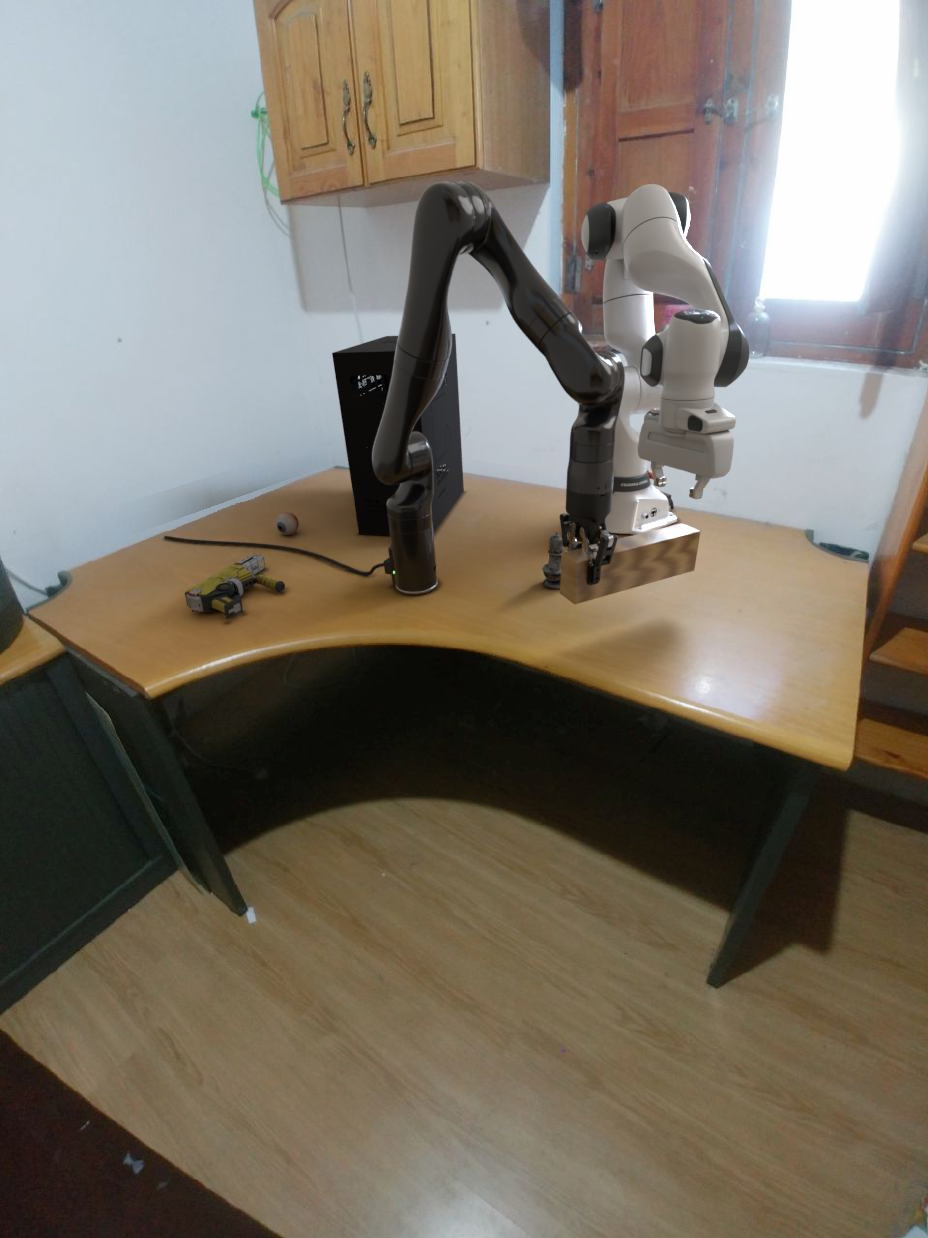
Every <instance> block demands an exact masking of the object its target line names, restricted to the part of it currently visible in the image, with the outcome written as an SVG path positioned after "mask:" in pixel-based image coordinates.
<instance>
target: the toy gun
mask: <svg viewBox="0 0 928 1238" xmlns="http://www.w3.org/2000/svg"><path fill="white" fill-rule="evenodd" d="M262 561H263V565H260V563H261V562H262ZM266 566H267V565H266V559H265V556H264V555H263V554H261V553H259V554H258V553H256V552H254V553H252V554H251V555H248V556H247V557H246V558H243V559H241V560H240V561H238V562H234V563H233V564H231V565H230V566H228V567H226V568H224V569H222V570H221V571H218V572H217V573H215V574H214V575H212V576H210V577H208V578H206V579H205V580H203V581H201V582H199V583H197V584H195V585H194V586H192V587H191V588H189V589H187V590H186V591H185V592H184V597H185V602H186V606H187V607H188V609H189V610H191V612H192V613H195V614H199V613H200V612H201V613H208V612H214V611H219V612H222V613H223V614H224V615H225V619H227V620H229V619H231V618H234V617H235V616H238V615H239V614H241V613H243V612H244V609H243V603H242V598H241V597H242V596H243V595H244V591H245V590H247V589H249V588H252V587H254V586H255V585H256V584H257V585H259V586H262V587H265V588H267V589H271V590H272V591H273V590H274V591H275V592H277V593H282V592H284V591H285V590H286V583H285V582H284V581H282V580H277V579H276V578H272V577H270V576H267V575H265V574H263V573H262V574H258V573H260V572H261V571H262V570H265V569H266ZM256 574H258V575H257V576H255V575H256Z"/></svg>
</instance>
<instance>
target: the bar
mask: <svg viewBox="0 0 928 1238" xmlns="http://www.w3.org/2000/svg"><path fill="white" fill-rule="evenodd" d="M700 536H701V530H699V529H698V528H695V527H692V526H690V525H687V524H686V523H678V524H673V525H668V526H665V527H662V528H660V529H657V530H653V531H649V532H645V533H641V534H637V535H633V534H632V535H629V536H625V537H621V538H617V543H616V546H615V549H614V553H613V556H612V560H611V563H610V564H608V565H604V566H601V574H600V581H599V583H598V584H594V585H589V584H587V570H588V565H589V564H588V558H587V554H586V553H585V552H584V548H580V549H576V550H572V551H568V550H567V551H565V552H564V553H562V556H561V584H560V588H559V594H560V595H562V597H564V598H565V599H566V600H568V601H569V602H570V603H572V604H573V605H578V604H581V603H585V602H589V601H592V600H595V599H599V598H603V597H607V596H609V595H613V594H617V593H620V592H624V591H628V590H631V589H635V588H639V587H641V586H645V585H649V584H652V583H655V582H659V581H662V580H665V579H670V578H672V577H676V576H680V575H683V574H686V573H690V572H694V571H695V569H696V563H697V555H698V549H699V543H700ZM595 546H597V544H594V545H590V547H595ZM596 555H597V552H594V553H593V556H594V559H595V558H596ZM604 558H605V556H604Z"/></svg>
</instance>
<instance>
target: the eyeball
mask: <svg viewBox="0 0 928 1238" xmlns="http://www.w3.org/2000/svg"><path fill="white" fill-rule="evenodd" d="M299 525H300V522H299V519H298V517H297V516H296V515H295V514H294V513H292V512H287V511H286V512H282V513H280V514H279V515H278V516H277V517H276V520H275V527H276V529H277V530H278V531H279V532H280V533H281V534H282V535H285V536H286V535H287V536H289V535H293V534H295V533H296V532H297V531H298V529H299Z"/></svg>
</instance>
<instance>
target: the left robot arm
mask: <svg viewBox="0 0 928 1238" xmlns="http://www.w3.org/2000/svg"><path fill="white" fill-rule="evenodd" d="M414 212H415V213H414V219H413V227H412V235H411V236H412V237H411V238H412V239H411V248H410V249H411V250H410V261H409V270H408V271H409V272H408V280H407V287H406V292H405V298H404V305H403V310H402V317H401V323H400V326H399V331H398V335H397V336H398V340H397V345H396V351H395V356H394V362H393V369H392V375H391V380H390V385H389V390H388V394H387V399H386V404H385V408H384V412H383V415H382V419H381V422H380V425H379V428H378V432H377V435H376V438H375V442H374V445H373V451H372V465H373V469H374V472H375V475H376V476H377V478H378V479H379V480H380V481H381V482H382V483H384V484H386V485H396V484H400V485H399V487H398V489H397V490H396V491H395V493H394V494H393V495H392V496H391V497H390V498H389V499H388V500H387V514H388V523H389V531H390V535H389V538H390V545H389V546H388V549H387V550H388V551H387V552H388V557H387V558H386V559H385V560H383V562H381V563H377V564H375V565H373V566H371V569H370V570H369V571H362V570H359V569H356V568H354V567H352V566H349V565H347V564H344V563H342V562H340V561H337V560H335V559H333V558H330V557H327V556H325V555H322V554H320V553H316V552H312V551H311V550H310V551H309V550H305V549H301V548H296V547H292V546H286V545H279V544H270V543H269V544H268V543H261V542H246V541H245V542H244V541H243V542H241V541H225V540H223V541H222V540H209V539H208V540H205V539H194V538H193V539H192V538H183V537H176V536H170V535H164V536H163V539H166V540H172V541H178V542H183V543H184V542H186V543H195V544H210V545H229V546H245V547H258V548H259V547H261V548H270V549H279V550H286V551H292V552H297V553H301V554H304V555H305V554H306V555H309V556H313V557H316V558H319V559H320V560H321V559H322V560H325V561H327V562H330V563H332V564H334V565H336V566H337V567H341V568H342V569H343V568H344V569H345V570H348V571H350V572H353V573H355V574H357V575H361V576H370V575H372V574H373V573H374V572H375V570H377V569H378V568H384V574H385V575H390V576H391V582H392V587H394V588H395V589H396V590H397V591H398V592H399V593H401V594H403V595H407V596H408V595H409V596H410V595H411V596H415V595H416V596H417V595H424V594H428V593H430V592H432V591H434V590H435V589H437V587H438V585H439V580H438V574H437V573H438V563H437V559H436V549H435V547H436V546H435V532H434V533H433V522H432V510H431V503H432V500H433V496H434V484H433V458H432V452H431V448H430V445H429V443H428V441H427V439H426V438H425V436H424V435H423V434H421V433H420V432H418V431H412V430H413V428H414V425H415V424H416V422H417V420H418V419H419V417H420V416H421V414H422V413H423V411H424V410H425V409H426V407H427V406H428V405H429V403H430V402H431V400H432V399H433V398H434V396H435V395H436V393H437V391H438V390H439V388H440V386H441V384H442V382H443V379H444V376H445V373H446V369H447V365H448V361H449V357H450V353H451V347H452V334H453V332H452V325H451V320H450V315H449V307H448V299H449V292H450V287H451V282H452V278H453V275H454V271H455V267H456V264H457V262H458V261H457V260H458V258H459V256H461V255H466V254H468V255H469V256H470V257H471V258H473V259H474V260H475V261H476V262H478V264H480V265H481V266H482V267H483V268H484V269H485V270H486V272H488V274H490V276H491V278H493V280H494V282H495V283H496V285H497V286H498V288H499V291H500V293H501V295H502V298H503V300H504V303H505V305H506V308H507V310H508V313H509V314H510V316H511V318H512V320H513V321H514V323H515V324H516V326H517V327H518V329H520V331H521V332H522V333H523V335H524V336H525V337H526V338H527V339H528V340H529V341H530V343H531V344H532V345H533V346H534V348H536V349H537V351H538V352H539V353H540V354H541V355H542V356H543V357H544V358H545V360H546V361H547V364H548V365H549V366H548V367H549V368H550V370H551V371H552V373H553V375H554V376H555V378H556V380H557V381H558V383H559V385H560V387H561V388H562V389H563V391H564V392H565V393H566V394H567V396H569V398H571V399H572V400H573V401H574V402H576V403H577V404H578V403H579V405H578V412H577V416H576V417H575V420H574V422H573V423H572V425H571V427H570V433H569V452H568V454H569V455H568V456H569V457H568V464H567V469H566V486H565V487H566V488H565V511H566V512H564V513H560V514H559V523H560V533H561V536H562V543H563V548H567V552H568V551H572V550H576V549H580V548H584V552H585V553H586V554H587V558H588V564H589V565H588V570H587V584H589V585H594V584H598V583H599V581H600V574H601V566H604V565H608V564H610V563H611V560H612V556H613V553H614V549H615V546H616V543H617V539H618V535H617V533H612V534H610V532H607V531H606V523H605V518H606V517H607V515H608V514H609V513H610V512H611V506H612V493H613V480H614V447H615V428H616V423H617V419H618V415H619V410H620V406H621V401H622V396H623V391H624V382H625V372H624V367H623V366H624V363H623V362H622V359H621V358H620V357H619V356H618V355H617V354H616V353H615V352H612V351H610V350H603V349H602V350H597V351H595V349H593V347H592V346H591V345H590V343H589V342H588V341H587V339H586V338H585V337H584V335H583V325H582V323H581V321H580V320H579V319H578V317H577V316H576V314H574V312H573V311H572V310H571V309H570V308H569V306H568V305H567V304H566V303H565V302H564V301H563V300H562V298H561V297H560V296H559V295H558V294H557V293H556V292H555V290H554V289H553V288H552V286H550V285H549V284H548V283H547V281H546V280H545V279H544V277H543V276H542V275H541V273H540V272H538V270H537V269H536V267H535V266H534V264H533V263H532V262H531V260H530V259H529V257H528V256H527V255H526V253H525V252H524V250H523V249H522V247H521V246H520V244H519V243H518V241H517V239H516V238H515V236H514V235H513V233H512V232H511V231H510V229H509V227H508V225H507V224H506V222H505V221H504V219H503V217H502V216H501V214H500V212H499V211H498V209H497V207H496V206H495V204H494V202H493V201H492V199H491V198H490V196H489V195H488V194H487V192H486V191H485V190H484V189H483V188H482V186H480V185H478V184H477V183H476V182H472V181H469V180H453V181H452V180H449V181H447V180H446V181H445V180H444V181H437V182H434V183H432V184H430V185H429V186H427V187H426V188H425V189H424V190H423V192H422V193H421V195H420V197H419V199H418V202H417V204H416V208H415V211H414ZM568 534H569V536H568ZM593 545H597V546H595V547H590V546H593ZM594 552H597V555H596V558H595V559H594V556H593V553H594ZM604 556H605V558H604Z"/></svg>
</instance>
